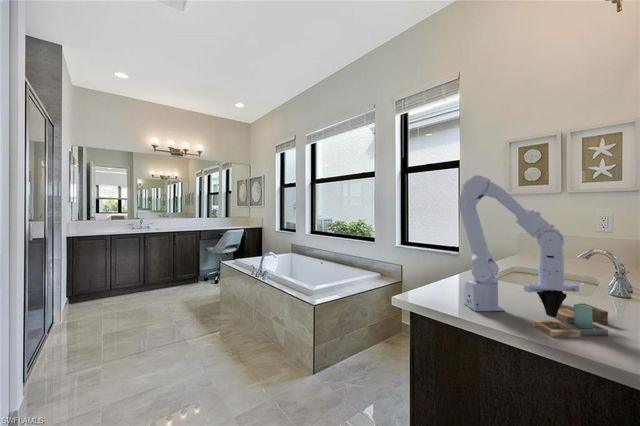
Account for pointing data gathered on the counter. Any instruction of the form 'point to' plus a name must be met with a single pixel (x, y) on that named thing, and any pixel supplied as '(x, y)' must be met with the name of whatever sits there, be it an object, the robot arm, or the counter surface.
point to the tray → (589, 330)
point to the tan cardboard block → (565, 315)
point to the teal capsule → (583, 316)
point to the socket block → (565, 332)
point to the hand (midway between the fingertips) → (551, 315)
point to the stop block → (599, 315)
